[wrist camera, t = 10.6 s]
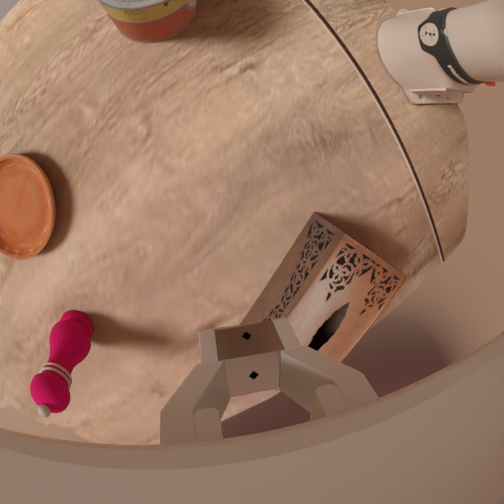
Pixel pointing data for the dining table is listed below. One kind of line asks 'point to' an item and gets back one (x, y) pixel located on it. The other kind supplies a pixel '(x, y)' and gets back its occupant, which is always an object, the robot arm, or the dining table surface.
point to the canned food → (150, 17)
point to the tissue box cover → (328, 289)
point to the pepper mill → (61, 362)
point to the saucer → (24, 207)
